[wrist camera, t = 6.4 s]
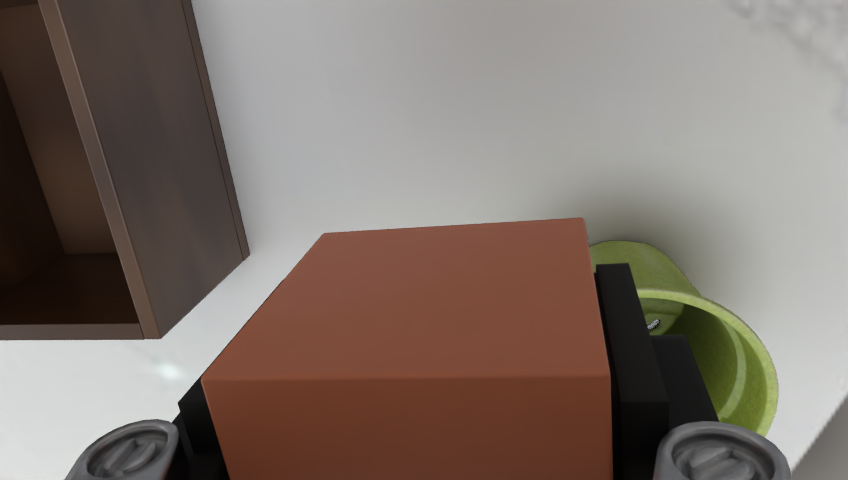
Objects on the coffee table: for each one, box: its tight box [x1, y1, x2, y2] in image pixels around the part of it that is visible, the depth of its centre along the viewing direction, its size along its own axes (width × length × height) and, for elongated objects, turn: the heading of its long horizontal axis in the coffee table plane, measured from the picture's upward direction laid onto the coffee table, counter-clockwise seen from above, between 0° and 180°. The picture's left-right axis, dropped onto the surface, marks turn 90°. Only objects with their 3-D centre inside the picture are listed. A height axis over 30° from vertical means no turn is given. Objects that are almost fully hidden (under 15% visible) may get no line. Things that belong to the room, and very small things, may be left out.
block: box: [201, 218, 613, 480], centre depth 10 cm, size 5×5×5 cm
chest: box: [0, 0, 250, 340], centre depth 30 cm, size 15×12×9 cm
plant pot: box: [589, 241, 778, 438], centre depth 28 cm, size 9×9×9 cm
